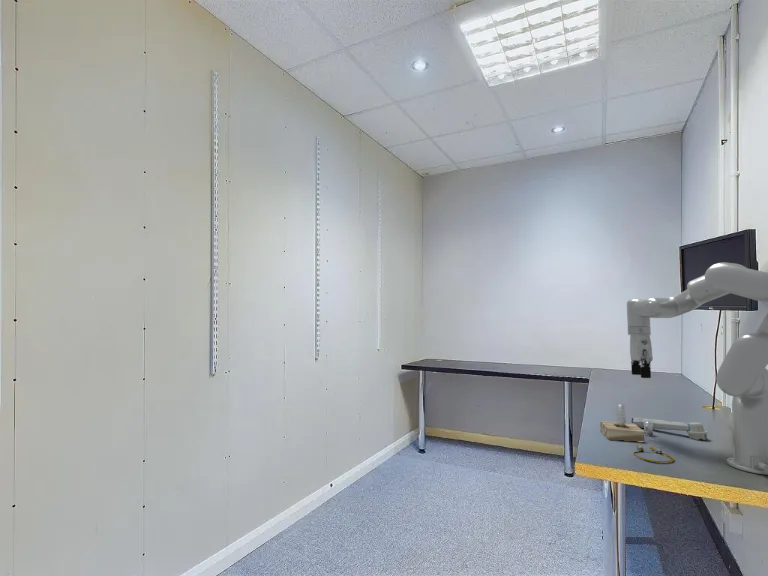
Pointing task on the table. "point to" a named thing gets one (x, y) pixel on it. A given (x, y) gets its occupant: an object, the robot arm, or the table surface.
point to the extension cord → (654, 450)
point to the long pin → (621, 415)
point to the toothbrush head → (675, 427)
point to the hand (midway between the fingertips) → (641, 376)
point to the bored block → (621, 431)
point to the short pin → (648, 427)
